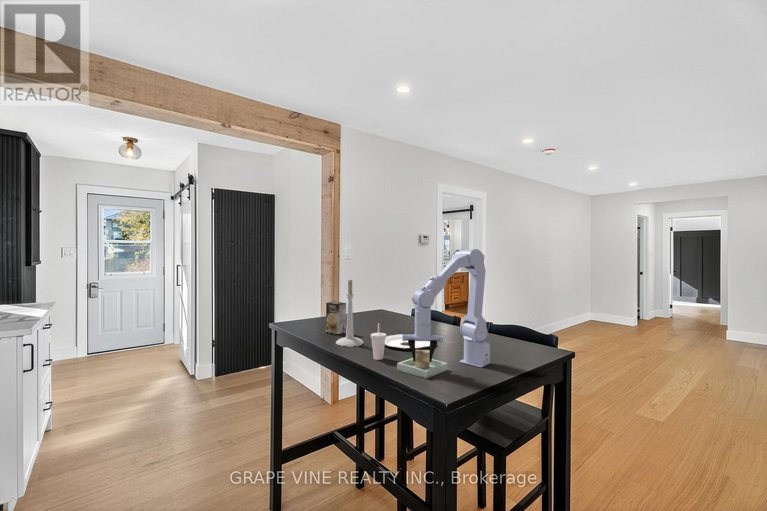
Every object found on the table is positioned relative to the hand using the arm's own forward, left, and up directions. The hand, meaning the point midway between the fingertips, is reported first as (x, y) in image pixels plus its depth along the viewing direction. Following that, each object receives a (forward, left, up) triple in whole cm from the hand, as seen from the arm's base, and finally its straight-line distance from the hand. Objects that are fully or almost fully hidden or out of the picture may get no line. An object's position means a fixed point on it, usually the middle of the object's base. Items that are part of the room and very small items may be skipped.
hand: (422, 361), depth 128 cm
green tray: (0, 0, -3) cm, 3 cm away
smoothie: (+21, +1, -3) cm, 21 cm away
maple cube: (0, 0, -2) cm, 2 cm away
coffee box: (+68, -16, -3) cm, 70 cm away
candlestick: (+47, -7, -3) cm, 48 cm away
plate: (+27, -25, -4) cm, 37 cm away
